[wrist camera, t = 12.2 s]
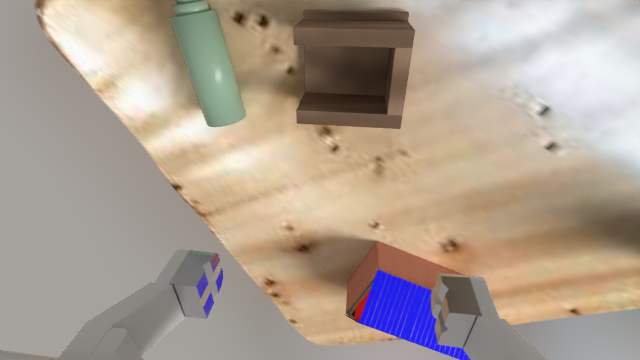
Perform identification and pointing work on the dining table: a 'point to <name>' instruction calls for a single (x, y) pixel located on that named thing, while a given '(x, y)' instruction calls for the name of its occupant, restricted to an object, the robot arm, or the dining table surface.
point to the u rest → (354, 67)
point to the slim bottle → (208, 62)
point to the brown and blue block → (397, 296)
